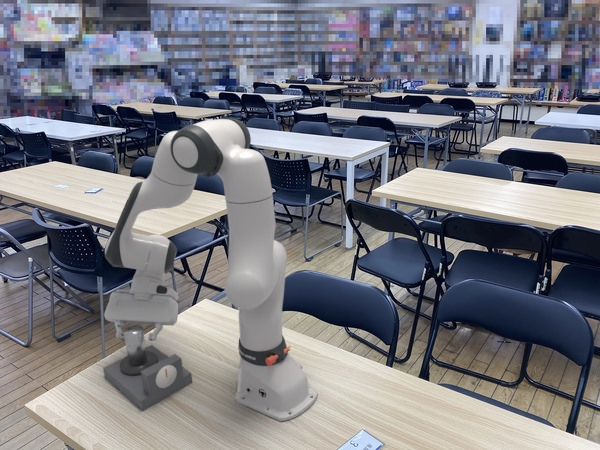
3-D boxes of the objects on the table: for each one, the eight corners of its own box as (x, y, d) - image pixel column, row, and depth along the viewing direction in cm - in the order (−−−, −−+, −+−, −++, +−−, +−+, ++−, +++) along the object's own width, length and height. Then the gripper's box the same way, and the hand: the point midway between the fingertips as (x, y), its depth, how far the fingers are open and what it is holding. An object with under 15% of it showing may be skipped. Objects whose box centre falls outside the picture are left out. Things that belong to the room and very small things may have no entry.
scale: (193, 382, 130) (190, 354, 127) (143, 412, 120) (139, 381, 116) (152, 353, 143) (149, 326, 140) (104, 377, 133) (99, 348, 130)
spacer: (151, 357, 134) (146, 326, 131) (141, 368, 130) (136, 336, 126) (135, 354, 136) (130, 324, 132) (125, 365, 131) (119, 334, 128)
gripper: (107, 285, 135) (94, 334, 129) (176, 289, 132) (166, 339, 126) (117, 292, 140) (105, 339, 135) (184, 295, 138) (174, 344, 132)
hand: (135, 339), depth 130 cm, fingers open, 8 cm apart
